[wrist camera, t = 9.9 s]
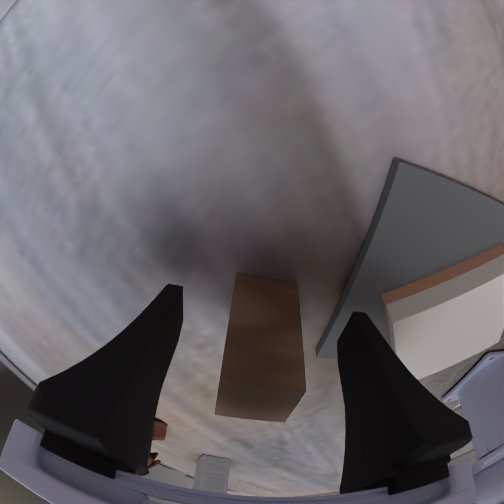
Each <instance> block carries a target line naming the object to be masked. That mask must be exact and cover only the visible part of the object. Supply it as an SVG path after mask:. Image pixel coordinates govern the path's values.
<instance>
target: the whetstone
mask: <svg viewBox="0 0 504 504" xmlns="http://www.w3.org/2000/svg"><path fill="white" fill-rule="evenodd" d="M381 295H382V301H383V306H384V312H385V318H386V324H387V331H388V338H389V345H390V347H391V348H392V350H393V351H394V352H395V354H396V355H397V356H398V358H399V359H400V360H401V361H402V363H403V364H404V365H405V366H406V368H407V369H408V370H409V371H410V372H411V373H412V374H413V376H414V377H415V378H416V379H417V380H419V379H421V378H424V377H426V376H429V375H431V374H434V373H436V372H439V371H441V370H443V369H446V368H448V367H450V366H452V365H454V364H457V363H459V362H461V361H463V360H465V359H467V358H469V357H471V356H473V355H475V354H477V353H479V352H481V351H483V350H485V349H487V348H489V347H490V346H492V345H494V344H496V343H498V342H499V340H500V337H501V335H502V332H503V329H504V246H503V245H502V244H500V245H497V246H495V247H493V248H491V249H489V250H487V251H485V252H483V253H481V254H479V255H477V256H474V257H472V258H470V259H468V260H466V261H463V262H461V263H459V264H457V265H454V266H452V267H450V268H447V269H445V270H443V271H440V272H438V273H435V274H433V275H430V276H428V277H426V278H423V279H421V280H418V281H415V282H413V283H410V284H408V285H405V286H403V287H400V288H397V289H395V290H392V291H389V292H386V293H384V294H381Z"/></svg>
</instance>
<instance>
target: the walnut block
mask: <svg viewBox="0 0 504 504" xmlns="http://www.w3.org/2000/svg"><path fill="white" fill-rule="evenodd" d="M305 392H306V381H305V366H304V352H303V340H302V328H301V316H300V305H299V295H298V285H297V283H295V282H288V281H282V280H275V279H269V278H263V277H257V276H250V275H244V274H238V273H237V274H236V280H235V286H234V292H233V298H232V305H231V311H230V317H229V323H228V330H227V336H226V343H225V349H224V355H223V362H222V368H221V375H220V382H219V388H218V395H217V402H216V408H215V415H221V416H228V417H236V418H244V419H253V420H263V421H275V422H285V421H286V420H287V418H288V417H289V415H290V414H291V413H292V411H293V410H294V408H295V407H296V405H297V404H298V403H299V401H300V400H301V398H302V397H303V395H304V394H305Z"/></svg>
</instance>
